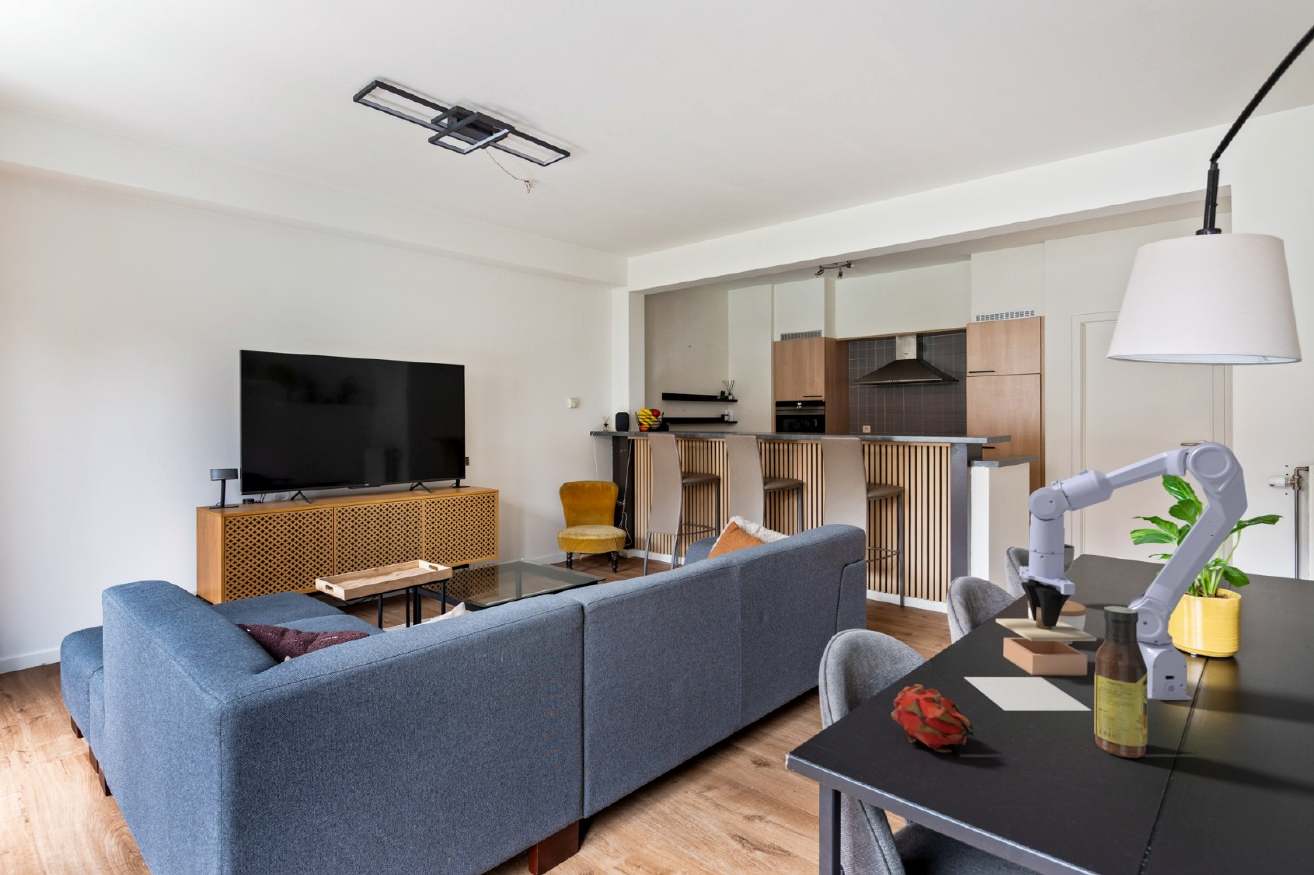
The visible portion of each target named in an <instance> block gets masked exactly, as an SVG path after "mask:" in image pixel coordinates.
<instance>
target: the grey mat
mask: <svg viewBox="0 0 1314 875" xmlns="http://www.w3.org/2000/svg"><path fill="white" fill-rule="evenodd" d="M963 679H965V680H966V681H967V682H969V683H970V684H971V685H972V686H973V687H975V688H976V689H978V690H979V692H981V693H982V694H984V695H985V696H986V697H987V698H988V699H989V700H991V701H992V702H993V703H995V705H997V706H998V707H999V708H1001V709H1002V710H1003V711H1006V712H1007V711H1009V712H1010V711H1012V712H1013V711H1015V712H1018V711H1021V712H1022V711H1023V712H1024V711H1025V712H1027V711H1028V712H1029V711H1030V712H1033V711H1034V712H1036V711H1037V712H1038V711H1039V712H1040V711H1041V712H1043V711H1044V712H1045V711H1046V712H1051V711H1052V712H1054V711H1055V712H1056V711H1057V712H1059V711H1062V712H1063V711H1064V712H1065V711H1067V712H1068V711H1070V712H1073V711H1075V712H1078V711H1079V712H1082V711H1083V712H1084V711H1085V712H1088V711H1090V712H1091V711H1092V709H1090V708H1089V707H1088V706H1086V705H1084V703H1083V704H1082V703H1081V702H1080V701H1078V700H1077V699H1075V698H1074V697H1072V696H1070V695H1069V694H1067V693H1066V692H1064V691H1062V690H1061V689H1059V688H1058V687H1057V686H1056V685H1054V684H1052V683H1051V682H1049V681H1048V680H1046V679H1044V678H1043V677H1041V676H1025V677H1024V676H1022V677H1021V676H1019V677H1018V676H1013V677H1012V676H1006V677H1005V676H998V677H997V676H973V677H972V676H964V677H963Z"/></svg>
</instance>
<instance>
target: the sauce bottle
mask: <svg viewBox="0 0 1314 875" xmlns="http://www.w3.org/2000/svg"><path fill="white" fill-rule="evenodd" d="M1103 617H1104V621H1105V622H1104V624H1105V627H1104V629H1105V630H1104V640H1103V643H1102V644H1100V646H1099V647H1098V649H1097V650H1096V652H1095V671H1094V695H1093V696H1094V700H1093V702H1094V703H1093V704H1094V705H1093V706H1094V710H1093V711H1094V712H1093V713H1094V722H1093V723H1094V725H1093V726H1094V727H1093V728H1094V729H1093V731H1094V735H1095V743H1096V745H1097V747H1098V748H1100V749H1101V750H1104V751H1106V752H1108V753H1110V754H1112V755H1113V756H1116V757H1117V756H1118V757H1121V758H1131V759H1137V758H1142V757H1144V755H1145V754H1146V751H1147V749H1146V748H1147V747H1146V746H1147V744H1148V713H1149V712H1148V710H1149V709H1148V700H1149V699H1148V692H1147V689H1148V688H1147V683H1148V681H1147V677H1148V673H1147V667H1146V664H1145V661H1144V658H1143V656H1142V653H1141V650H1140V647H1139V645H1138V642H1137V625H1136V624H1137V622H1138V612H1137V611H1136V610H1134V609H1130V608H1127V607H1126V606H1125V607H1124V606H1118V605H1117V606H1116V605H1115V606H1114V605H1110V606H1104V607H1103Z"/></svg>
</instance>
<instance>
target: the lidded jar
mask: <svg viewBox="0 0 1314 875" xmlns="http://www.w3.org/2000/svg"><path fill="white" fill-rule="evenodd" d="M1027 606H1028V607H1027V613H1028V614H1027V616H1028V619H1033V616H1032V612H1031V608H1030V604H1029V600H1028V599H1027ZM1086 614H1087V607H1086V606H1085V605H1083V604H1081V603H1079V602H1076V601H1071V600H1069V599H1067V601H1066V602H1065V604H1064V605H1063V607H1062V610H1061V612H1060V615H1059V618H1058V620H1060V621H1062V622H1064V623H1066V624H1068V625H1070V626H1073V627H1075V628H1077V629H1079V630H1081V631H1083V632H1084V628H1085V625H1086ZM1061 642H1063V643H1065V644H1067V645H1069V644H1070V645H1072V644H1073V642H1074V641H1061ZM1070 645H1069V646H1070Z"/></svg>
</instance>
